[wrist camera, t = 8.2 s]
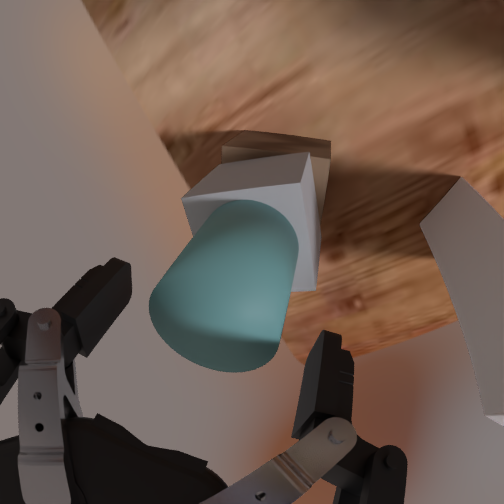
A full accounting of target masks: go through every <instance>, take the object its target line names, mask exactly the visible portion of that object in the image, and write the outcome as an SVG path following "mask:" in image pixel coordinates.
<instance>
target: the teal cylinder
mask: <svg viewBox="0 0 504 504" xmlns="http://www.w3.org/2000/svg"><path fill="white" fill-rule="evenodd" d="M298 253H299V243H298V238H297V235H296V232H295V230H294V228H293V226H292V225H291V224H290V222H289V221H288V220H287V219H286V217H285V216H284V215H282V214H281V213H280V212H279V211H277V210H276V209H274V208H273V207H271V206H269V205H267V204H264V203H262V202H258V201H254V200H236V201H232V202H228V203H226V204H223V205H222V206H220V207H218V208H217V209H216V210H215V211H214V212H213V213H212V214H211V215H210V216H209V217H208V219H207V220H206V221H205V222H204V224H203V225H202V226H201V228H200V229H199V230H198V231H197V233H196V234H195V235H194V237H193V238H192V239H191V240H190V242H189V243H188V244H187V246H186V247H185V248H184V250H183V251H182V252H181V254H180V255H179V256H178V258H177V259H176V260H175V261H174V263H173V264H172V265H171V267H170V268H169V269H168V271H167V272H166V274H165V275H164V276H163V278H162V279H161V280H160V282H159V283H158V284H157V286H156V287H155V288H154V290H153V292H152V294H151V297H150V300H149V313H150V317H151V320H152V323H153V325H154V327H155V329H156V331H157V332H158V334H159V335H160V336H161V337H162V339H163V340H164V341H165V342H166V343H167V344H168V345H169V346H170V347H171V348H172V349H174V351H176V352H177V353H178V354H180V355H181V356H183V357H185V358H186V359H188V360H190V361H192V362H194V363H196V364H198V365H200V366H203V367H206V368H209V369H213V370H217V371H223V372H245V371H251V370H254V369H256V368H259V367H261V366H263V365H265V364H266V363H268V362H269V361H270V360H271V359H272V358H273V357H274V355H275V354H276V352H277V350H278V347H279V343H280V339H281V334H282V330H283V325H284V321H285V316H286V312H287V307H288V302H289V298H290V293H291V288H292V283H293V279H294V274H295V269H296V264H297V259H298Z"/></svg>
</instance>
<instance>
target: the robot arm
mask: <svg viewBox="0 0 504 504" xmlns="http://www.w3.org/2000/svg"><path fill="white" fill-rule="evenodd" d="M131 295H132V278H131V265H130V263H127V262H125V261H122V260H120V259H117V258H115V257H114V258H112V259H110V260H109V261H108V262H107V263H106V264H105V265H104V266H101V265H98V266H96V267H94V268H92V269H90V270H89V271H88V272H87V273H86V274H85V275H84V276H82V277H81V279H79V281H78V282H77V283H76V284H75V286H73V287H72V288H71V289H70V290H69V291H68V292H67V293H66V294H65V295H64V296H63V297H62V298H61V299H60V300H59V301H58V302H57V303H56V304H55V305H54V307H52V308H42V309H39V310H37V311H35V312H34V313H33V314H32V313H27V312H22V311H18V310H16V308H15V305H14V304H13V302H12V301H11V300H9V299H5V298H3V299H0V344H1V345H2V347H1V348H0V404H1V403H2V401H3V400H4V398H5V397H6V395H7V394H8V392H9V391H10V389H11V388H12V386H13V385H14V383H15V382H16V380H17V379H18V423H19V435H18V436H15V437H11V438H8V439H5V440H2V441H0V504H292V503H293V502H294V501H295V500H297V499H298V498H299V497H301V496H302V495H303V494H304V493H305V492H307V491H308V490H309V489H310V488H311V486H312V485H313V484H314V483H315V482H316V481H317V480H319V479H320V478H322V479H323V480H325V481H327V482H329V483H331V484H333V485H335V486H337V487H336V492H335V496H334V501H333V504H404V496H405V487H406V477H407V458H406V456H405V454H404V452H403V451H402V450H401V449H400V448H398V447H396V446H393V445H386V446H383V447H381V448H378V447H376V446H374V445H372V444H370V443H368V442H366V441H364V440H363V439H361V438H360V437H359V436H358V435H357V434H356V431H355V428H354V427H353V425H352V421H351V417H352V402H353V383H354V377H353V375H354V361H353V358H352V356H351V353H350V351H347V350H343V349H341V344H342V336H341V335H340V334H336V333H333V332H329V331H326V330H322V332H321V333H320V335H319V337H318V339H317V340H316V342H315V344H314V346H313V348H312V349H311V351H310V353H309V355H308V358H307V361H306V364H305V368H304V375H303V380H302V385H301V391H300V396H299V401H298V407H297V412H296V417H295V422H294V427H293V432H292V436H291V437H292V438H296V439H299V441H298V442H297V443H296V444H294V445H293V446H292V447H290V448H289V449H288V450H286V451H285V452H283V453H282V454H280V455H277V456H276V457H274V458H273V459H271V460H270V461H268V462H267V463H265V464H264V465H262V466H261V467H260V468H258V469H256V470H255V471H253V472H252V473H250V474H249V475H247V476H246V477H244V478H242V479H241V480H239V481H238V482H236V483H234V484H233V485H231V486H229V487H228V486H227V485H226V483H225V482H224V481H223V480H222V479H221V478H220V477H219V476H218V475H217V474H216V473H214V472H213V471H212V470H210V469H209V468H207V467H206V465H207V463H208V461H205V460H202V459H199V458H196V457H194V456H191V455H188V454H186V453H183V452H180V451H176V450H169V449H163V448H158V447H152V446H148V445H146V444H144V443H143V442H141V441H140V440H139V439H138V438H136V437H135V436H134V435H132V434H131V433H130V432H129V431H128V430H126V429H125V428H124V427H123V426H121V425H119V424H117V423H115V422H113V421H111V420H109V419H107V418H105V417H104V416H102V415H100V414H98V413H97V415H96V416H95V418H94V419H92V418H86V417H83V414H82V410H81V407H80V404H79V399H78V390H77V380H76V367H75V359H74V358H75V357H76V355H77V354H78V353H79V354H81V355H83V356H85V357H88V356H89V354H90V353H91V352H92V350H93V349H94V347H95V346H96V345H97V343H98V342H99V341H100V339H101V338H102V337H103V335H104V334H105V333H106V331H107V330H108V329H109V327H110V326H111V325H112V324H113V322H114V321H115V320H116V318H117V317H118V316H119V314H120V313H121V312H122V311H123V309H124V308H125V307H126V305H127V304H128V303H129V300H130V298H131Z"/></svg>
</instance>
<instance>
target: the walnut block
mask: <svg viewBox="0 0 504 504" xmlns="http://www.w3.org/2000/svg"><path fill="white" fill-rule="evenodd" d="M303 152H309V153H310V159H311V165H312V172H313V178H314V185H315V192H316V199H317V207H318V214H319V222H320V224H321V218H322V213H323V207H324V200H325V194H326V188H327V181H328V175H329V168H330V161H331V141H328V140H322V139H315V138H308V137H301V136H294V135H286V134H277V133H269V132H259V131H248V130H244V131H243V132H241V133H240V134H238V135H237V136H236V137H234V138H233V139H231V140H230V141H228V142H227V143H225V144H224V145H222V164H225V163H231V162H237V161H243V160H250V159H257V158H264V157H271V156H278V155H286V154H294V153H303Z"/></svg>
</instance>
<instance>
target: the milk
mask: <svg viewBox="0 0 504 504" xmlns="http://www.w3.org/2000/svg"><path fill="white" fill-rule="evenodd" d="M419 225H420V227H421V230H422V232H423V234H424V236H425V238H426V240H427V242H428V245H429V247H430V249H431V251H432V253H433V256H434V258H435V260H436V263H437V265H438V267H439V270H440V272H441V275H442V277H443V280H444V282H445V285H446V287H447V290H448V292H449V295H450V298H451V300H452V303H453V306H454V308H455V311H456V314H457V317H458V320H459V323H460V326H461V329H462V332H463V335H464V338H465V341H466V344H467V348H468V351H469V355H470V358H471V361H472V365H473V369H474V373H475V377H476V380H477V385H478V389H479V393H480V398H481V402H482V406H483V412H484V415H485V416H486V417H488V418H490V419H491V420H493V421H495V422H497V423H498V424H500V425H502V426H504V219H503V218H502V217H501V216H500V215H499V214H498V212H497V211H496V210H495V209H494V208H493V207H492V206H491V205H490V204H489V203H488V202H487V201H486V200H485V199H484V198H483V197H482V196H481V195H480V194H479V193H478V192H477V191H476V190H475V189H474V188H473V187H472V186H471V185H470V184H469V183H468V182H467V181H466V180H465V179H464V178H463V177H460V179H459V180H458V181H457V182H456V183H455V184H454V186H453V187H452V188H451V189H450V190H449V191H448V193H447V194H446V195H445V196H444V197H443V198H442V199H441V201H440V202H439V203H438V204H437V205H436V206H435V207H434V208H433V209H432V211H431V212H430V213H429V214H428V215H427V216H426V217H425V218H424V219H423V220H422V221H421V222H420V224H419Z"/></svg>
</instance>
